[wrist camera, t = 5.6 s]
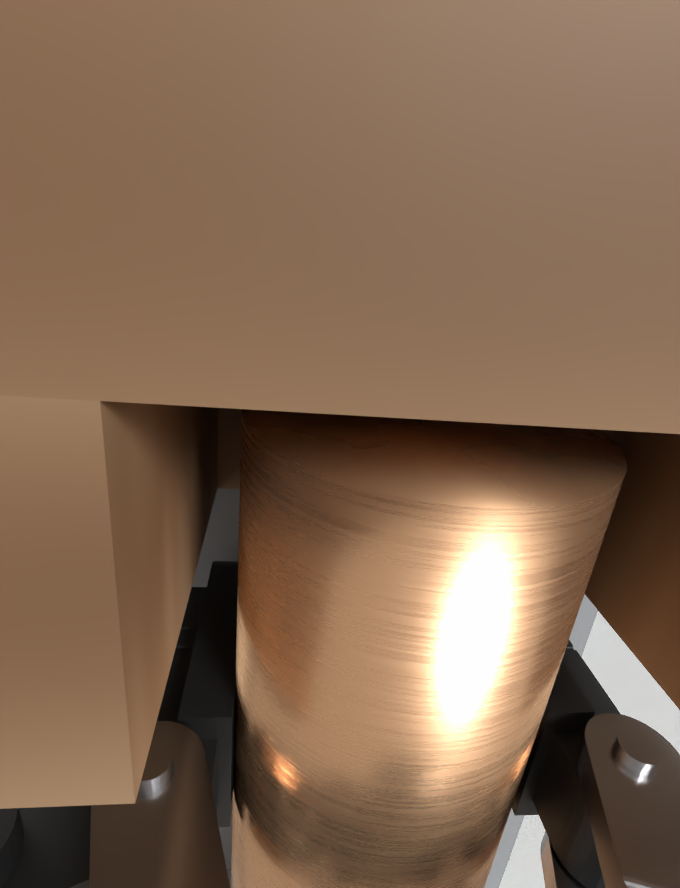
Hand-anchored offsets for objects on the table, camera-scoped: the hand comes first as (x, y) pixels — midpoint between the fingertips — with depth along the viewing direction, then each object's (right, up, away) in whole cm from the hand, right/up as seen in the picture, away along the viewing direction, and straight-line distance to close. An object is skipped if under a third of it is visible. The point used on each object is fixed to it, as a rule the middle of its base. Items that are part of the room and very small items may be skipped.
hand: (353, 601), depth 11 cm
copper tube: (0, -4, +1) cm, 4 cm away
